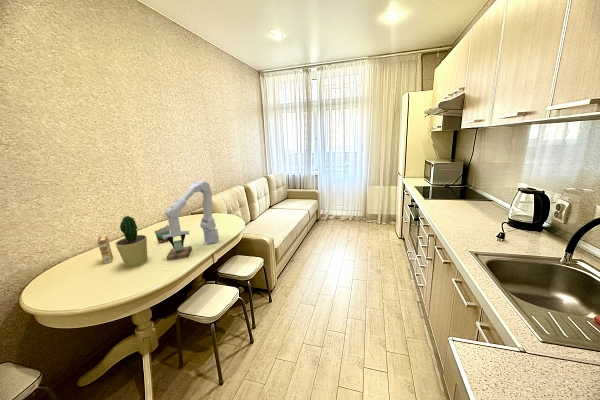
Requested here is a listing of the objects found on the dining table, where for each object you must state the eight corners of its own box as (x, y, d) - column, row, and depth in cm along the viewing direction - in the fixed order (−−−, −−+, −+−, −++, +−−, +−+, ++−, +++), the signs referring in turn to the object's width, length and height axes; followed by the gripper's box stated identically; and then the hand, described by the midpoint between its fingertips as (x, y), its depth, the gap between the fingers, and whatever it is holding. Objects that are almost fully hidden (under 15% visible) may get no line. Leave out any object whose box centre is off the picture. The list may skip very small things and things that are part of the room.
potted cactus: (124, 259, 149) (113, 214, 141) (153, 254, 155) (143, 210, 147) (117, 271, 135) (104, 221, 128) (149, 265, 141) (138, 216, 133)
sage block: (182, 246, 155) (181, 239, 153) (182, 249, 151) (181, 242, 149) (175, 248, 153) (173, 241, 151) (174, 251, 149) (173, 243, 148)
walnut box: (191, 250, 160) (191, 245, 159) (188, 258, 148) (187, 253, 148) (172, 252, 157) (171, 248, 156) (167, 261, 145) (166, 256, 145)
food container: (164, 244, 170) (161, 231, 167) (156, 243, 171) (154, 230, 168) (176, 237, 181) (173, 224, 179) (169, 237, 183) (166, 224, 180)
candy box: (112, 262, 147) (106, 239, 143) (103, 264, 144) (97, 240, 141) (113, 256, 154) (107, 234, 150) (104, 258, 152) (98, 236, 148)
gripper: (187, 222, 154) (190, 242, 158) (161, 227, 148) (166, 247, 152) (187, 225, 148) (191, 246, 151) (161, 230, 142) (165, 251, 145)
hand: (178, 246), depth 151 cm, fingers closed on sage block, 4 cm apart
